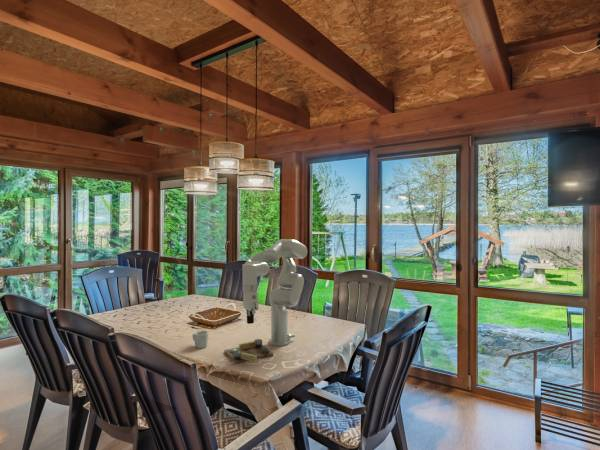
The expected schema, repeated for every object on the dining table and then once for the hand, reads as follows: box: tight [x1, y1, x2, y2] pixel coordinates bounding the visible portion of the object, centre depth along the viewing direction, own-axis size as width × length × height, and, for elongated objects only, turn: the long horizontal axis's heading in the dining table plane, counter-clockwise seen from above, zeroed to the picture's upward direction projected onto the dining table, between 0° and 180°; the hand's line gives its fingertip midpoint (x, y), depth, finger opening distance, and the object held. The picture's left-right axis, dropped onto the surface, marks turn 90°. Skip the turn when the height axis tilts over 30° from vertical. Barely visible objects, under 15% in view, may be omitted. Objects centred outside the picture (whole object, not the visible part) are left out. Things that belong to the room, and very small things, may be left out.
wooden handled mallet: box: [234, 350, 258, 363], centre depth 178 cm, size 13×4×3 cm, turn 62°
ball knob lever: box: [238, 338, 263, 350], centre depth 194 cm, size 13×4×3 cm, turn 120°
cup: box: [192, 330, 209, 349], centre depth 201 cm, size 11×8×8 cm
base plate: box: [223, 344, 274, 365], centre depth 189 cm, size 21×18×4 cm
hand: (250, 323), depth 182 cm, fingers closed
